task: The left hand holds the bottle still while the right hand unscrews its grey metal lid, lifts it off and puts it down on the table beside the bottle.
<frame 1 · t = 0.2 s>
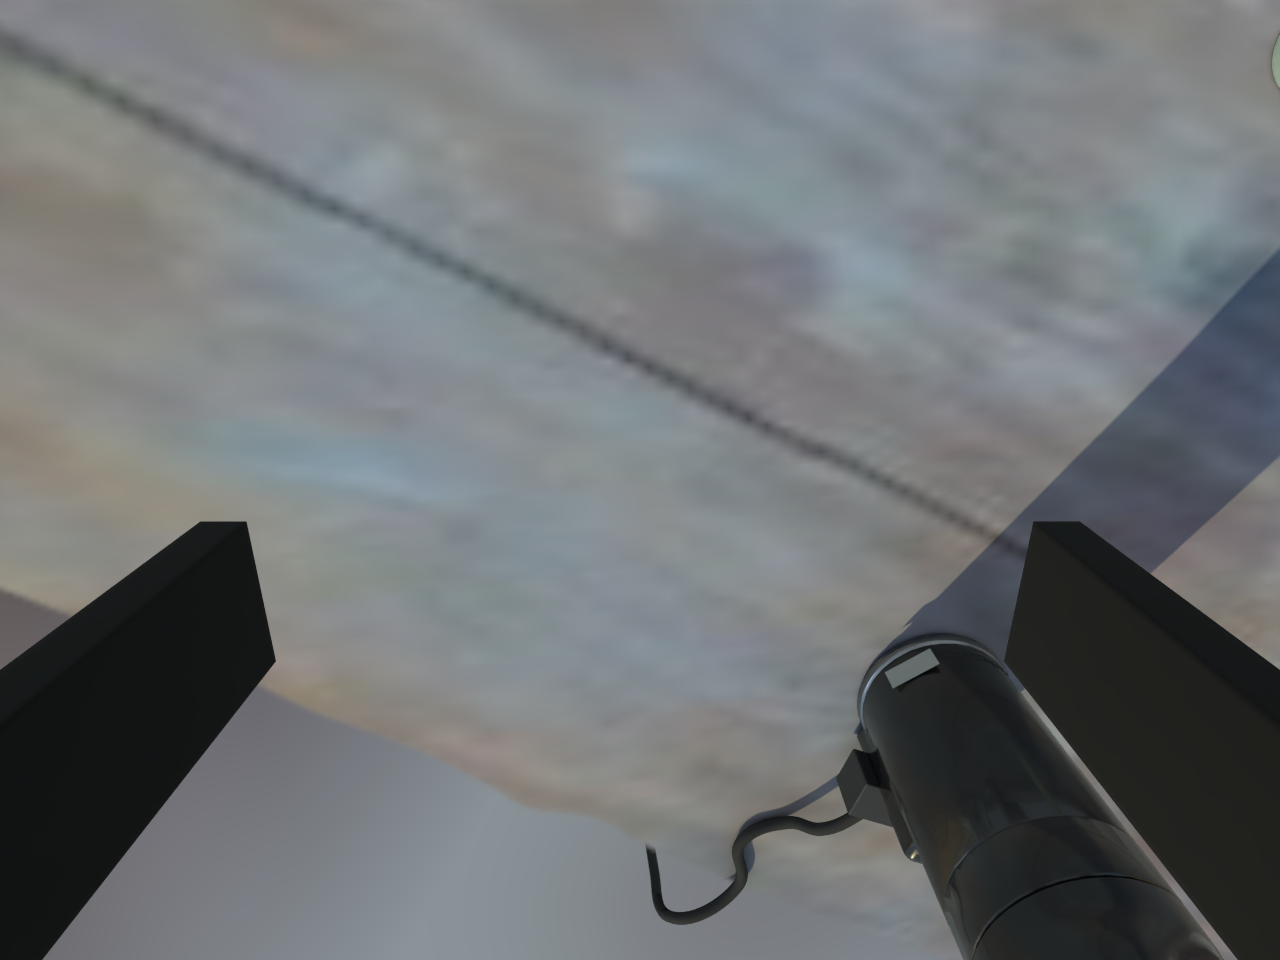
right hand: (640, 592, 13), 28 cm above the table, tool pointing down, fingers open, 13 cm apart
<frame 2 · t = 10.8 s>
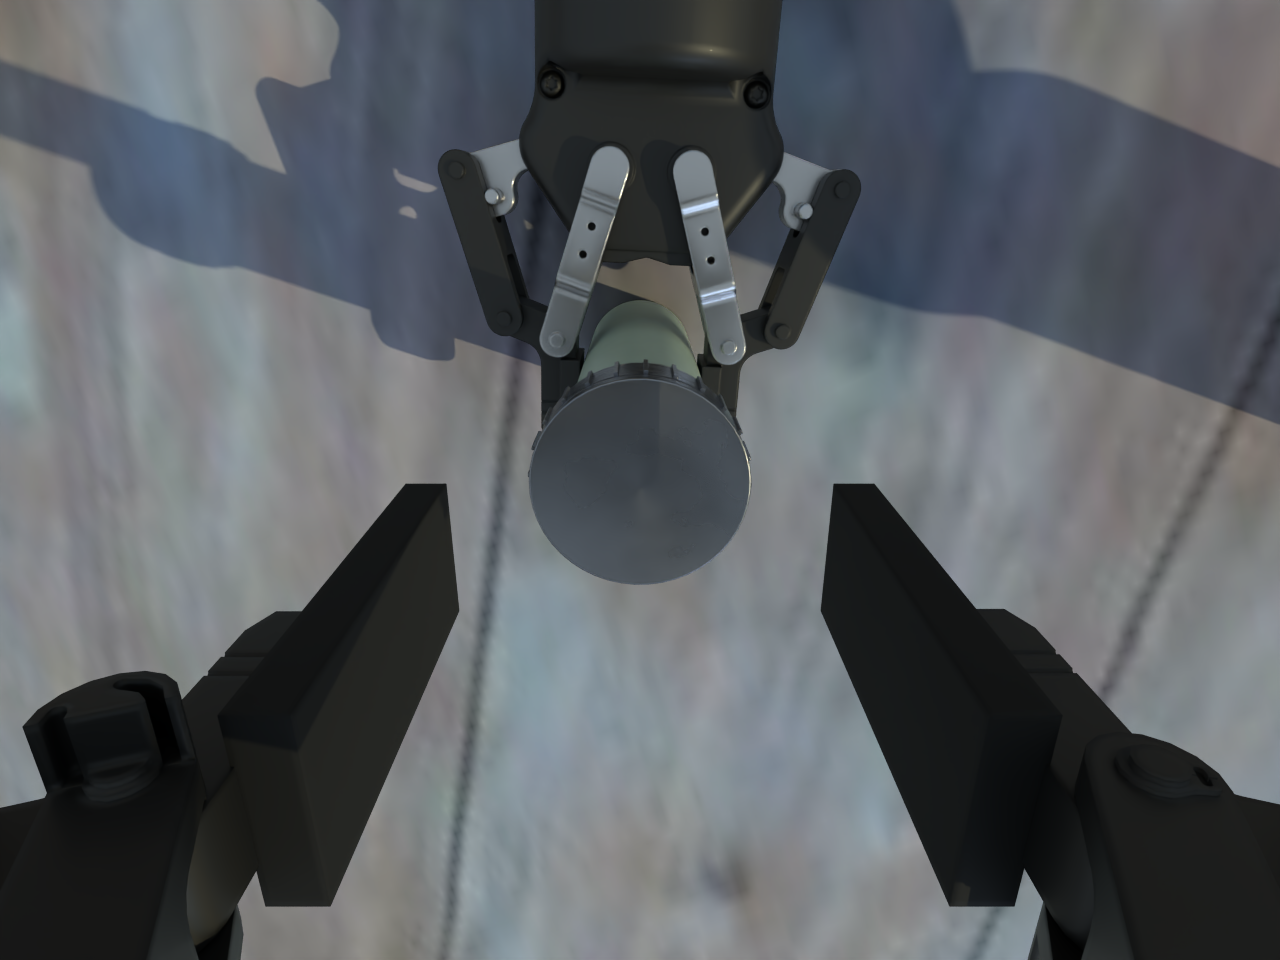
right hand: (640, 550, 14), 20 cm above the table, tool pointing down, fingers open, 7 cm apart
left hand: (637, 451, 28), fingers closed on bottle, 4 cm apart
bottle: (640, 349, 32), on the table, touching left hand
lid: (640, 481, 17), point 16 cm above the table, screwed on, not yet turned
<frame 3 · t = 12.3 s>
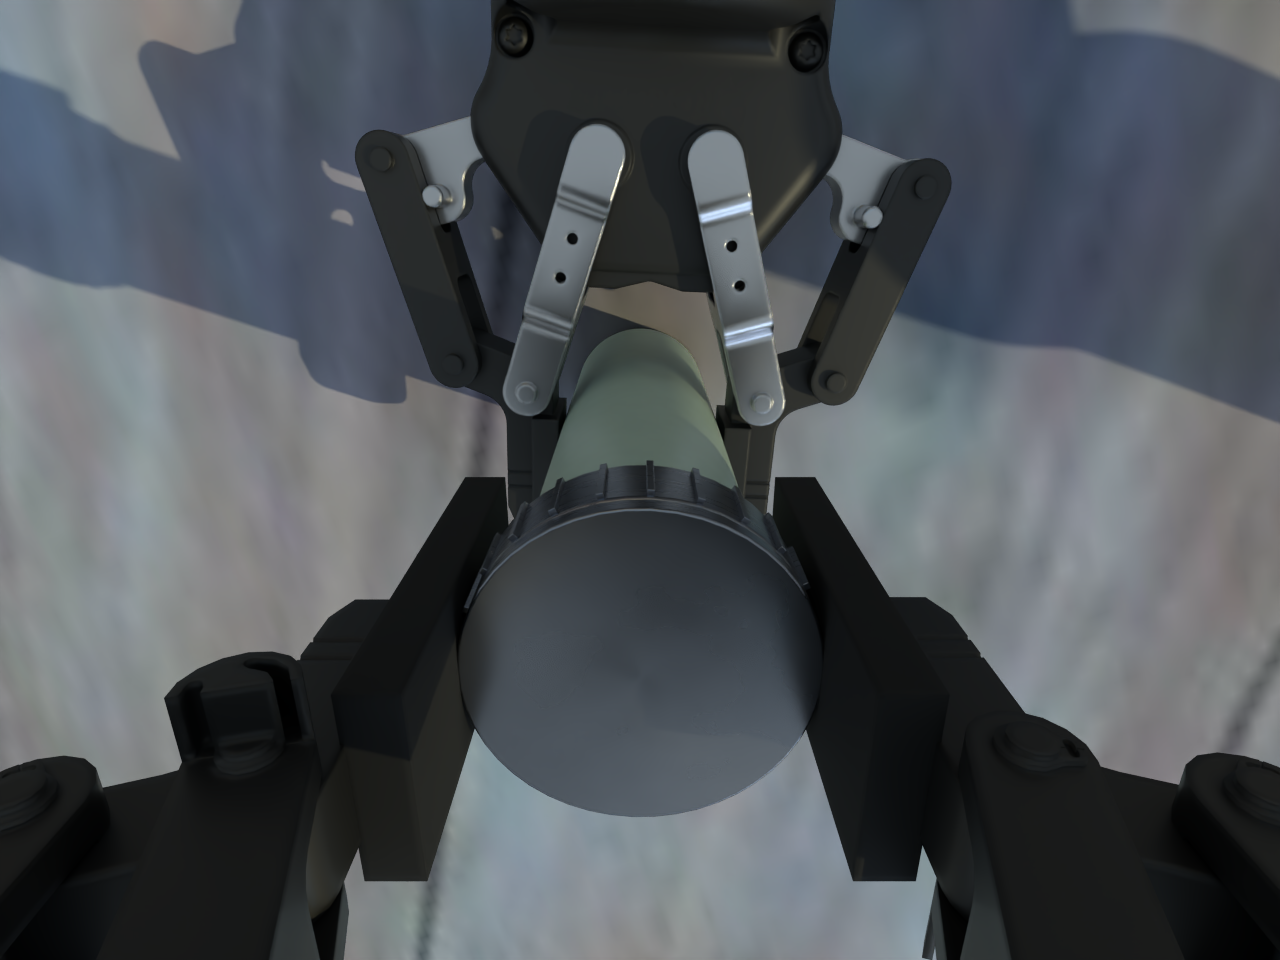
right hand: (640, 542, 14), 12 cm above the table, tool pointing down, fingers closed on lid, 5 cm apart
left hand: (637, 534, 21), fingers closed on bottle, 4 cm apart
bottle: (640, 389, 26), on the table, touching left hand
lid: (640, 662, 11), point 16 cm above the table, screwed on, not yet turned, touching right hand
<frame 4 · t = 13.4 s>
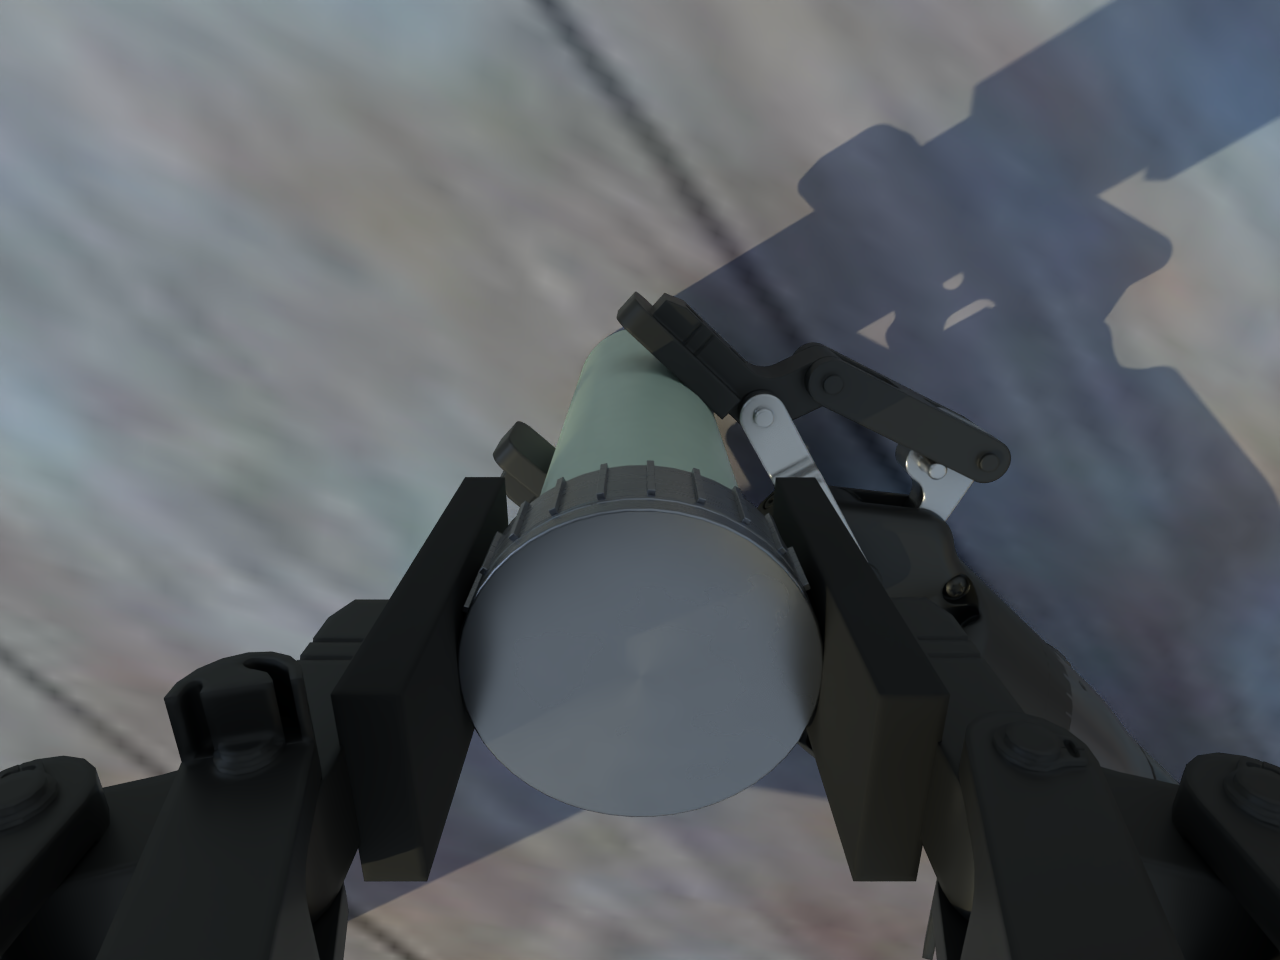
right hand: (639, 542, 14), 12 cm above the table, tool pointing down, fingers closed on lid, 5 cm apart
bottle: (640, 388, 26), on the table, touching left hand
lid: (640, 662, 11), point 16 cm above the table, off its thread, touching right hand
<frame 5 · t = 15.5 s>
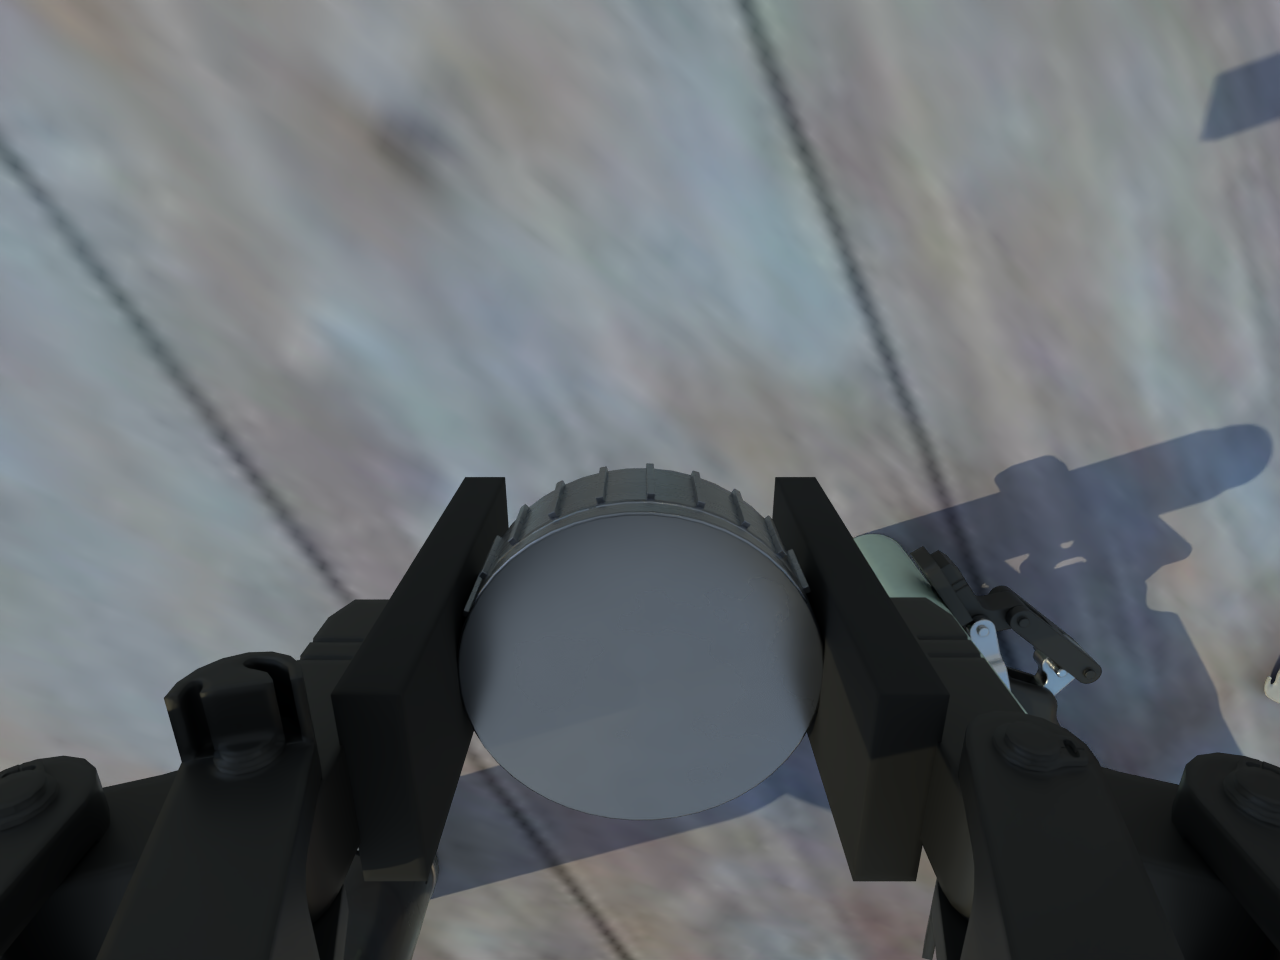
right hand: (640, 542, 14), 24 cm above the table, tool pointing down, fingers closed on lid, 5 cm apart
bottle: (868, 567, 42), on the table, touching left hand
lid: (640, 665, 11), point 28 cm above the table, off its thread, touching right hand
when the right hand's fingers open (0 cm above the table, at t = 19.9 s): lid drops 3 cm, point 1 cm above the table.
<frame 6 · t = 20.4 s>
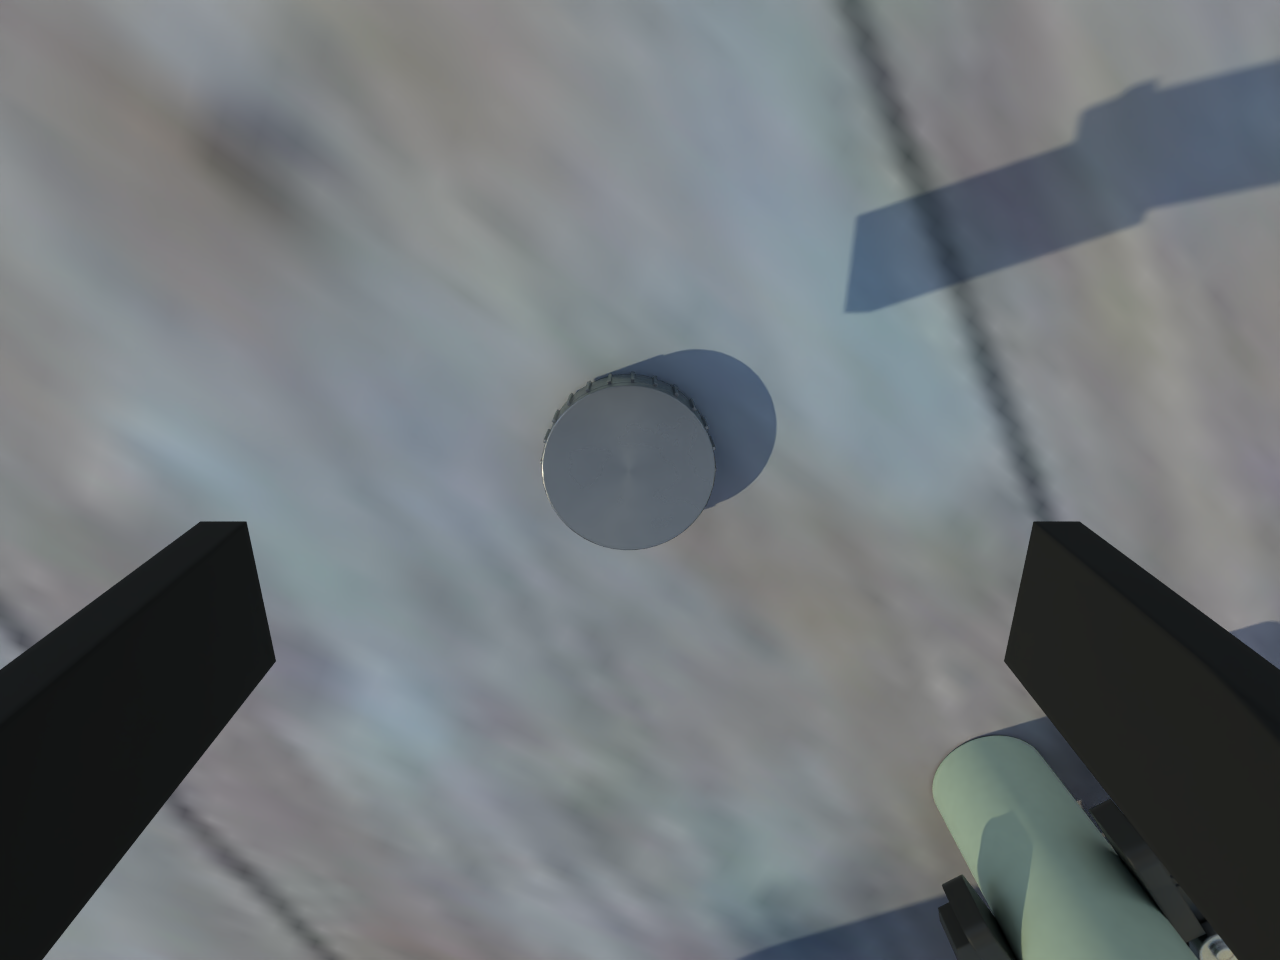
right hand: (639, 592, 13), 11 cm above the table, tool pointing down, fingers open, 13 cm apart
bottle: (988, 781, 28), on the table, touching left hand
lid: (628, 467, 22), point 1 cm above the table, off its thread
when the left hand's fingers open (6 cm above the table, at t = 20.5 s): bottle stays where it is, on the table.
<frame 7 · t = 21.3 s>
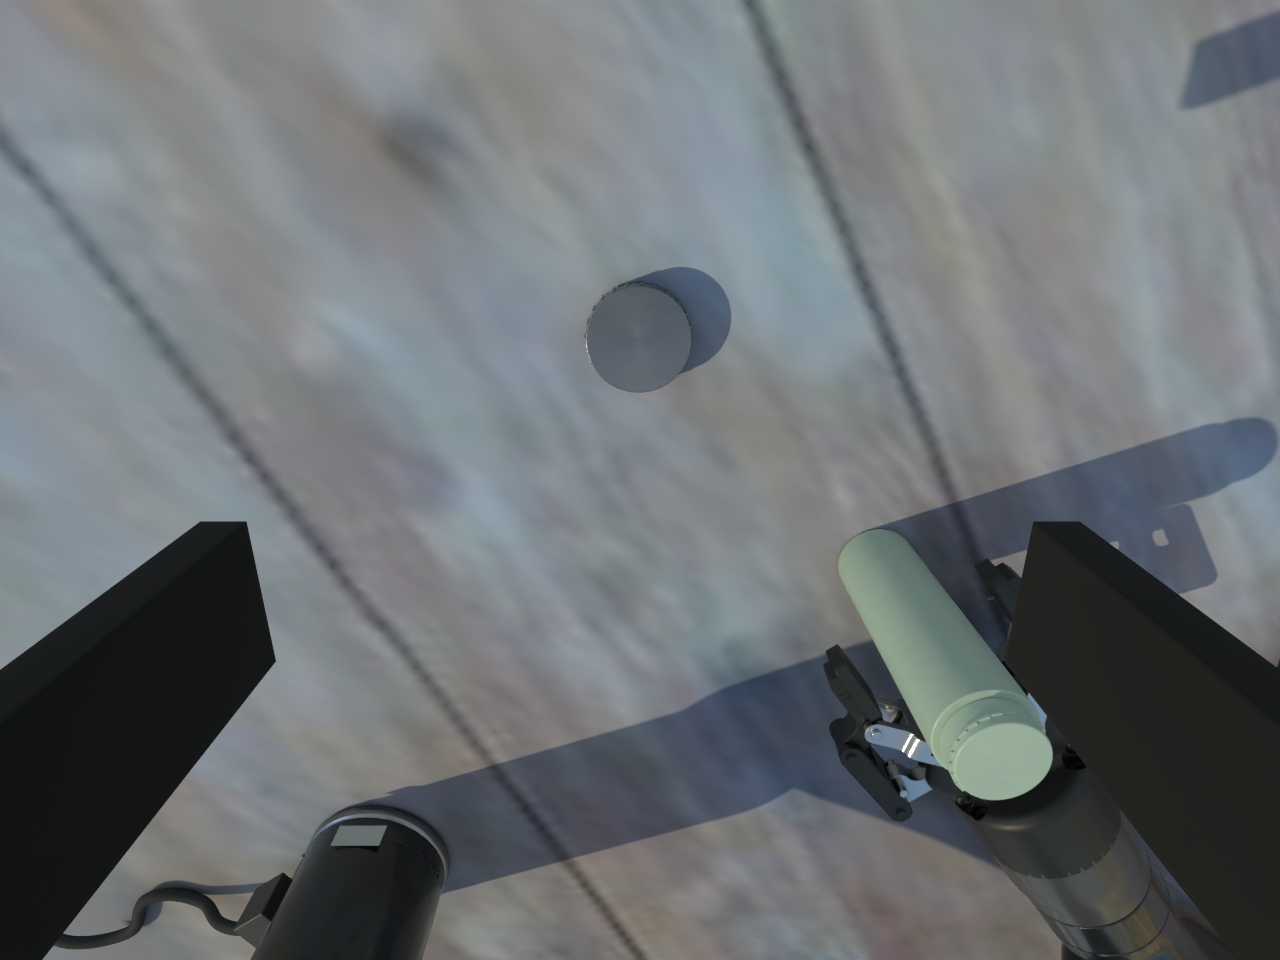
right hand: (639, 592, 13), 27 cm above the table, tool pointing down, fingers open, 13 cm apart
bottle: (875, 562, 42), on the table
lid: (638, 339, 36), point 1 cm above the table, off its thread
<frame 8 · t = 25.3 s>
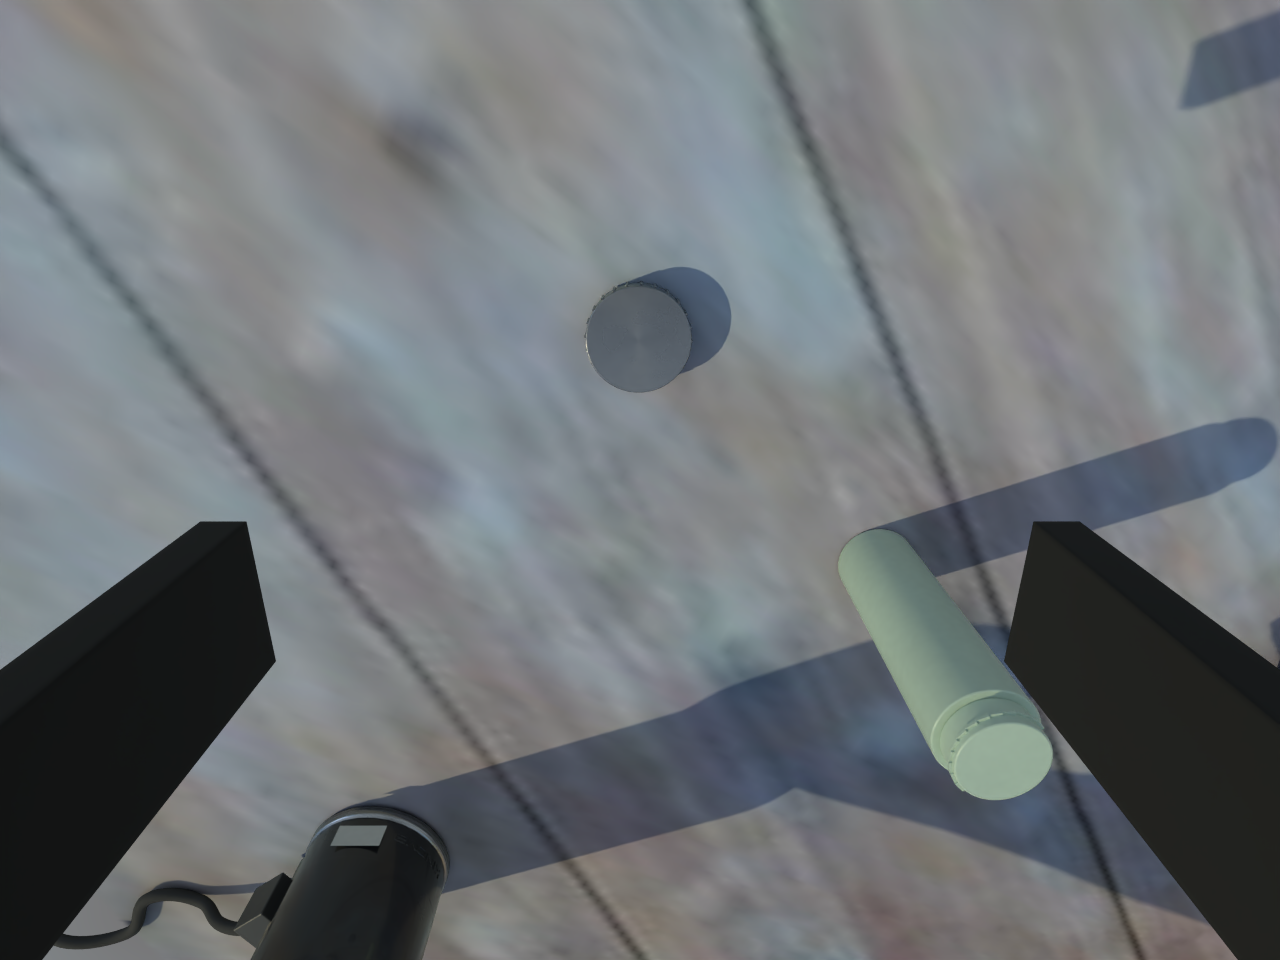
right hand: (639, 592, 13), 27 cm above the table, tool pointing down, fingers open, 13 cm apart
bottle: (875, 562, 42), on the table
lid: (638, 339, 36), point 1 cm above the table, off its thread
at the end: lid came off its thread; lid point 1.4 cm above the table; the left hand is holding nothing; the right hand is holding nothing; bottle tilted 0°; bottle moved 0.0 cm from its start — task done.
